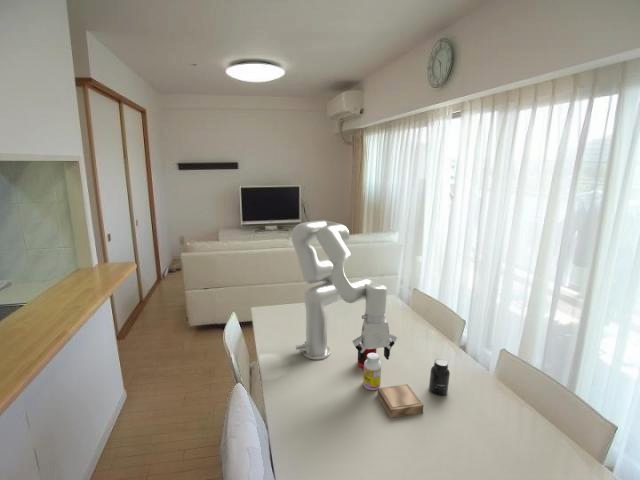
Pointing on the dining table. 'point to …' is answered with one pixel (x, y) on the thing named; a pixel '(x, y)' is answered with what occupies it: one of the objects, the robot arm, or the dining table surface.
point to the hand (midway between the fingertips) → (374, 359)
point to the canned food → (365, 355)
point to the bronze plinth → (400, 400)
